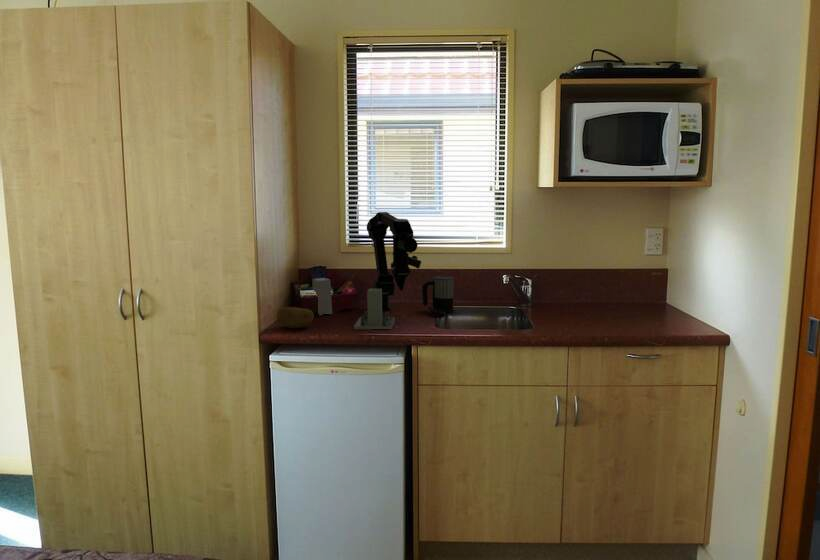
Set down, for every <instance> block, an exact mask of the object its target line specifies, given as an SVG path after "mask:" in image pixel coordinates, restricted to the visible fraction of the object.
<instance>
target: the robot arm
mask: <svg viewBox="0 0 820 560" xmlns="http://www.w3.org/2000/svg"><path fill="white" fill-rule="evenodd" d="M388 228H389V231H390V232H391V234H392V236H391V239H392V261H391V263H390V269H391V273H392V274H391V273H390V272H389V268H388V261H387V254H386V247H385V244H386V243H385V238H386V236H387V233H388V232H387V231H388ZM366 231H367V233H368V237H369V239H371V241H372V243H373V252H374V258H375V267H376V275H375V278H374V283H373V286H372V288H371V289H382V311H391V306H390V296H394V293H395V289H396V285H397V287H398V288H399V291H400V292H401V291H402V292H403V291H404V286H405V282H406V279H407V277H408V276H410V274H411V268H410V267H409V266H412V267H413V268H416V269H417V270H418V269H420V267H421V264H422V260H420V259H418V256H417V255H414V254H413V255H412V256H410V255H409V253H410V254H411V253H413V252H415V251H416V250H417V249H418V242H417V240H416V239H415V238H414V231H413V227H412V225H411V223H410V220H409V219H407V218H398V217H396V216H394V215H392V214H390V213H389V212H388V211H383V212H382V211H378V212H376V214H375V215H374V216H373V217H371V218H369V220H368V221H367V224H366ZM394 280H395V282H394ZM395 283H396V284H395Z"/></svg>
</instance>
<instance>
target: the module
mask: <svg viewBox="0 0 820 560" xmlns="http://www.w3.org/2000/svg"><path fill="white" fill-rule="evenodd" d="M366 293H367V295H366V296H367V299H366V301H367V304H366V305H367V311H368V323H381V322H382V317H383V310H382V289H372V288H368V289H367V291H366Z"/></svg>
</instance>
